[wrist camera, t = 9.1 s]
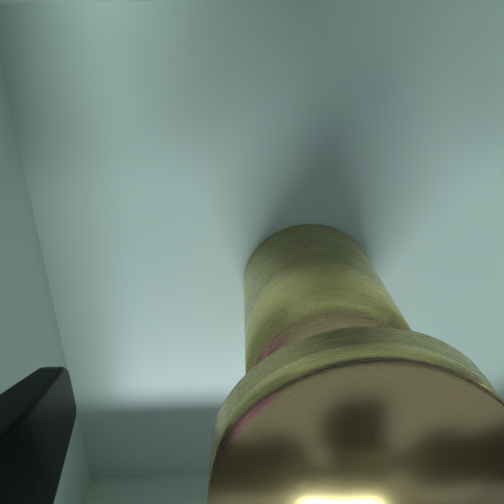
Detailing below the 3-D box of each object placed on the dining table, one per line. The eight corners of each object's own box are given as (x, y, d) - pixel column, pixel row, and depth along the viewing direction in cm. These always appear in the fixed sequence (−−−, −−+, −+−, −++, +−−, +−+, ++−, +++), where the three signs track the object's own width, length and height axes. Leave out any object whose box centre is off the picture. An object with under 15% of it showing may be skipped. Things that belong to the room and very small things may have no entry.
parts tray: (520, 466, 15) (599, 586, 11) (74, 481, 14) (27, 607, 11) (665, -56, 9) (896, -110, 6) (-50, -39, 9) (-211, -85, 6)
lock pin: (384, 351, 12) (508, 609, 7) (226, 357, 12) (215, 623, 6) (400, 199, 10) (582, 371, 5) (217, 205, 10) (194, 386, 5)
